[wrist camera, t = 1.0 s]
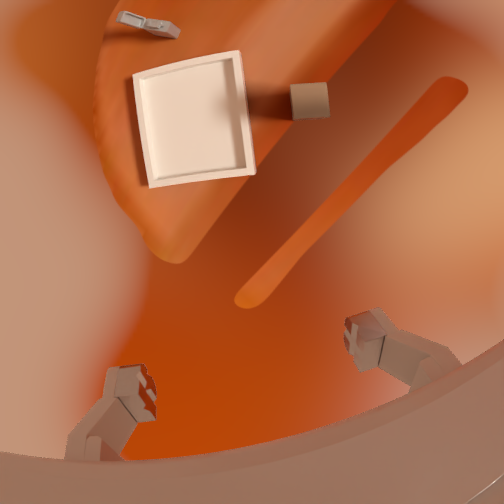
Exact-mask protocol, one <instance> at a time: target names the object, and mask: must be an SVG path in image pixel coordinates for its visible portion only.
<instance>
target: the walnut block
mask: <svg viewBox="0 0 504 504" xmlns="http://www.w3.org/2000/svg"><path fill="white" fill-rule="evenodd" d="M290 101H291V110H292V118H293V121H295V120H308V119H322V118H327V117H330V111H329V101H328V93H327V84H326V83H306V84H291V85H290Z"/></svg>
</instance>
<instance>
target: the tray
mask: <svg viewBox="0 0 504 504" xmlns="http://www.w3.org/2000/svg"><path fill="white" fill-rule="evenodd" d="M133 84H134V92H135V100H136V108H137V116H138V123H139V130H140V136H141V143H142V149H143V155H144V161H145V167H146V172H147V178H148V183H149V188H155V187H161V186H168V185H174V184H181V183H188V182H195V181H203V180H211V179H219V178H227V177H236V176H245V175H255V173H256V164H255V156H254V148H253V140H252V132H251V124H250V116H249V108H248V101H247V93H246V85H245V78H244V70H243V63H242V55H241V53H240V51H239V50H236V51H229V52H223V53H218V54H212V55H207V56H202V57H197V58H193V59H188V60H184V61H180V62H176V63H172V64H168V65H164V66H160V67H157V68H153V69H150V70H146V71H143V72H139V73H136V74H133Z"/></svg>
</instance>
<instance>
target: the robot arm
mask: <svg viewBox="0 0 504 504" xmlns="http://www.w3.org/2000/svg"><path fill="white" fill-rule="evenodd" d="M345 327H346V328H347V329H346V331H345V332H344V343H345V347H346V349H347V351H348V353H349V354H351V355H353V356H354V363H355V365H356V366H357V368H358V370H359V372H363V371H366V370H369V369H372V368H375V367H378V366H379V368H380V369H382V370H384V371H386V372H387V373H389V374H390V375H392V376H394V377H396V378H397V379H399V380H401V381H402V382H404V383H406V384H408V385H409V386H411V388H410V390H409V393H408V394H406V395H404V396H402V397H399V398H397V399H395V400H393V401H390V402H388V403H386V404H383V405H381V406H378V407H376V408H374V409H371V410H369V411H366V412H363V413H361V414H358V415H355V416H353V417H350V418H347V419H344V420H342V421H339V422H336V423H333V424H330V425H327V426H324V427H321V428H317V429H314V430H311V431H307V432H304V433H301V434H297V435H293V436H290V437H286V438H282V439H278V440H274V441H270V442H266V443H262V444H257V445H252V446H248V447H243V448H238V449H232V450H227V451H221V452H215V453H208V454H202V455H195V456H186V457H177V458H166V459H154V460H136V461H125V460H124V459H123V458H122V457H120V456H119V454H120V452H121V451H122V449H123V447H124V446H125V444H126V442H127V440H128V439H129V437H130V435H131V434H132V432H133V430H134V429H135V427H136V425H137V422H146V421H153V420H156V405H155V404H154V401H155V399H156V398H157V396H156V395H157V392H156V386H155V383H154V380H153V379H152V377H151V376H149V375H148V374H147V368H146V366H145V365H144V364H135V365H126V366H119V367H110V368H109V369H108V370H107V374H106V380H105V385H104V391H103V397H102V399H99V400H98V401H97V402H96V403H95V404H94V406H93V407H92V408H91V409H90V410H89V411H88V413H87V414H86V415H85V416H84V417H83V418H82V420H81V421H80V422H79V423H78V424H77V426H76V427H75V428H74V429H73V430H72V431H71V433H70V434H69V435H68V439H67V440H68V441H67V445H66V452H65V458H64V460H63V459H52V458H42V457H34V456H26V455H19V454H14V453H8V452H0V504H504V339H503V340H502V341H500V342H499V343H498V344H496V345H495V346H493V347H491V348H490V349H488V350H487V351H485V352H484V353H482V354H480V355H479V356H477V357H476V358H474V359H473V360H471V361H469V362H467V363H466V364H464V365H462V364H461V363H460V361H459V360H458V359H457V358H456V357H455V355H454V354H452V352H451V351H450V349H449V348H448V347H446V346H443V345H441V344H438V343H436V342H433V341H430V340H428V339H425V338H422V337H420V336H417V335H415V334H412V333H410V332H407V331H404V330H398V329H397V327H396V326H395V325H394V324H393V322H392V321H391V320H390V319H389V318H388V316H387V315H386V314H385V313H384V312H383V310H382V309H381V308H379V307H377V308H374V309H371V310H368V311H365V312H362V313H359V314H356V315H352V316H349V317H346V319H345Z"/></svg>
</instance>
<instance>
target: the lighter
mask: <svg viewBox="0 0 504 504" xmlns="http://www.w3.org/2000/svg"><path fill="white" fill-rule="evenodd" d="M116 22H118V23H121V24H124V25H127V26H131V27H134V28H143V29H144V30H146V31H148V32H150V33H152V34H153V35H156V36H162V37H168V38H173V39H177V38H178V35H179V33H180V31H181V30H180V29H179V28H178V27H176V26H175V25H174V24H173V23H171V22H169V21H162V20H155V19H146V18H144V17H141V16H139V15H136V14H133V13H130V12H127V11H121V12H119V14H118V17H117V19H116Z"/></svg>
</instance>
